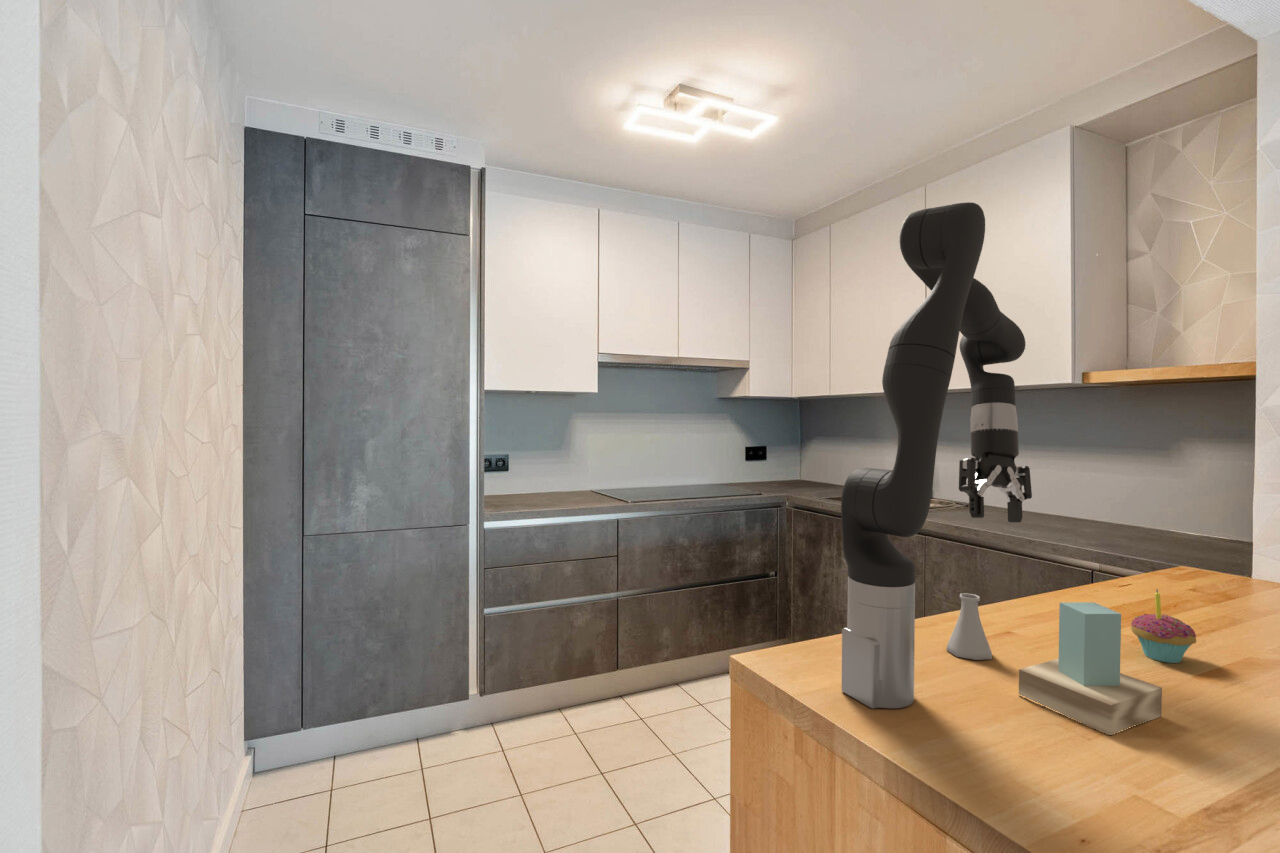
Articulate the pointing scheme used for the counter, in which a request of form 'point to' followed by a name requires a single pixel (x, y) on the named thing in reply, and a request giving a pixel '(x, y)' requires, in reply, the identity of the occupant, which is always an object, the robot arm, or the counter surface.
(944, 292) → the robot arm
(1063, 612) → the teal block
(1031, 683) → the birch plinth
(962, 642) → the flask
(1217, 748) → the counter surface
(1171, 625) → the cupcake
